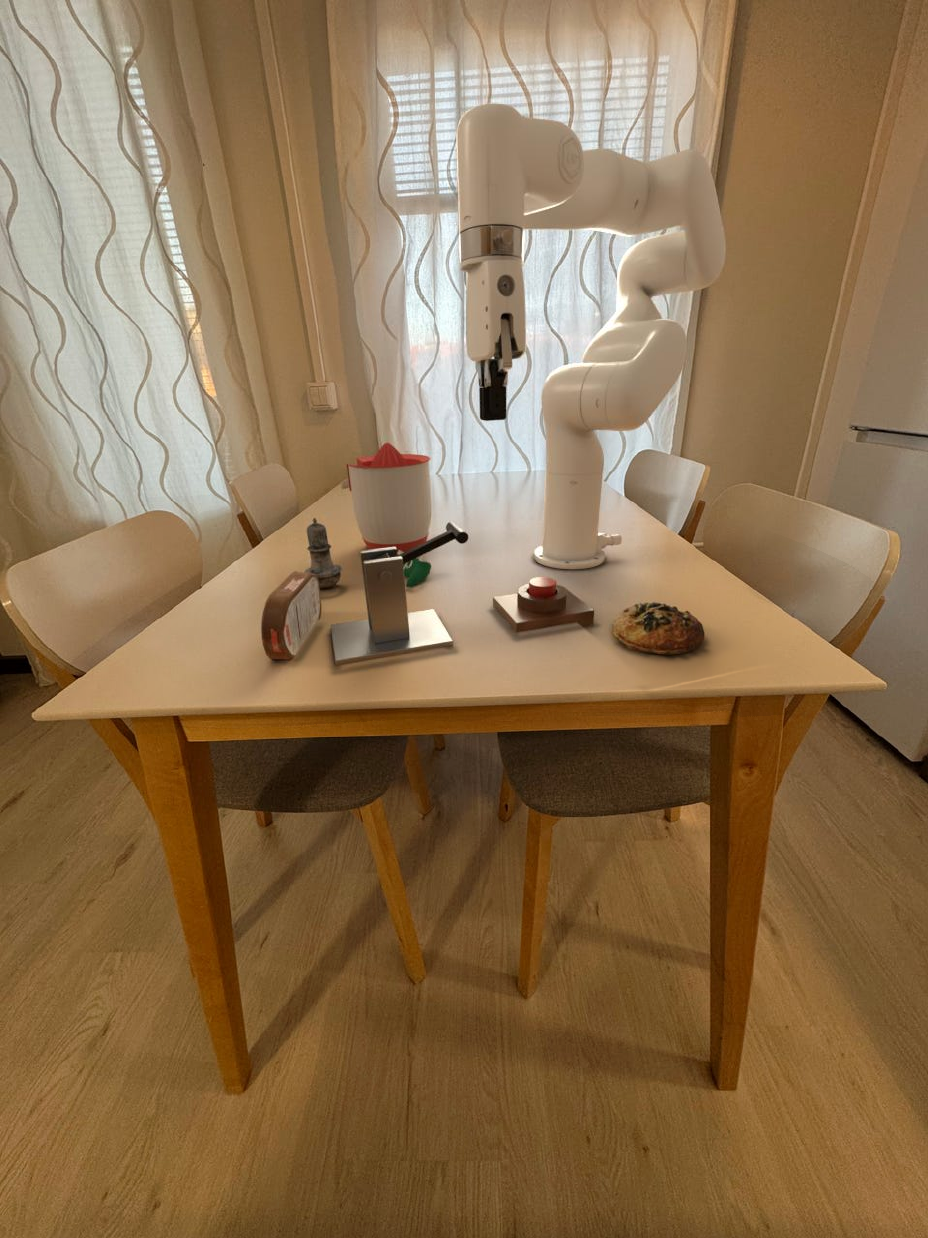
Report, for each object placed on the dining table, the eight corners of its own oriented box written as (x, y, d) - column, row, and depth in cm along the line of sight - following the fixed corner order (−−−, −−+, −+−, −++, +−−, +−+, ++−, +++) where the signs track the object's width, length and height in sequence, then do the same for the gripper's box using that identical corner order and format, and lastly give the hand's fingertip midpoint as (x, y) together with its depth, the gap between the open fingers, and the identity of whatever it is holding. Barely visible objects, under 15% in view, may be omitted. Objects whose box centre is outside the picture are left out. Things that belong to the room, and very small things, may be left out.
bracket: (434, 618, 70) (428, 536, 65) (453, 651, 61) (448, 560, 56) (332, 634, 67) (318, 549, 61) (337, 672, 58) (321, 576, 53)
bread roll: (724, 650, 59) (726, 612, 57) (635, 672, 58) (633, 634, 56) (673, 615, 69) (673, 581, 67) (597, 633, 68) (594, 599, 66)
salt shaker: (335, 599, 77) (323, 523, 72) (300, 597, 78) (286, 522, 73) (350, 585, 82) (340, 513, 77) (318, 583, 84) (305, 512, 78)
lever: (459, 533, 63) (452, 516, 62) (471, 543, 59) (464, 525, 58) (373, 575, 62) (364, 559, 61) (378, 589, 58) (369, 572, 57)
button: (548, 587, 70) (549, 575, 69) (560, 596, 66) (561, 584, 66) (524, 590, 69) (524, 578, 68) (535, 600, 66) (535, 588, 65)
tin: (307, 618, 72) (296, 562, 68) (328, 617, 71) (319, 561, 68) (266, 673, 58) (250, 607, 54) (293, 673, 58) (279, 607, 54)
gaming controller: (422, 598, 81) (440, 566, 82) (408, 587, 78) (427, 555, 79) (386, 585, 87) (403, 556, 88) (372, 574, 84) (389, 544, 85)
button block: (562, 600, 74) (564, 574, 73) (593, 625, 67) (595, 597, 65) (492, 611, 72) (492, 585, 70) (516, 638, 64) (516, 610, 62)
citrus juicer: (363, 535, 109) (351, 438, 101) (441, 535, 107) (436, 436, 98) (337, 558, 96) (321, 448, 87) (426, 559, 93) (419, 446, 84)
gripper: (548, 238, 54) (542, 421, 61) (499, 266, 66) (499, 415, 74) (481, 235, 52) (484, 425, 60) (444, 265, 65) (451, 418, 73)
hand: (493, 419), depth 67 cm, fingers closed
